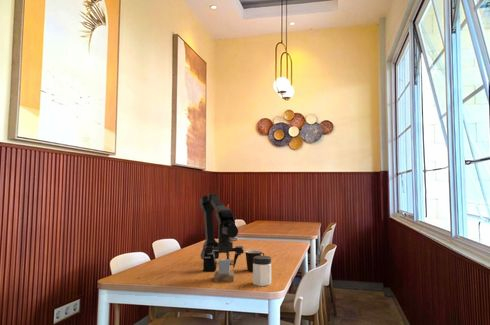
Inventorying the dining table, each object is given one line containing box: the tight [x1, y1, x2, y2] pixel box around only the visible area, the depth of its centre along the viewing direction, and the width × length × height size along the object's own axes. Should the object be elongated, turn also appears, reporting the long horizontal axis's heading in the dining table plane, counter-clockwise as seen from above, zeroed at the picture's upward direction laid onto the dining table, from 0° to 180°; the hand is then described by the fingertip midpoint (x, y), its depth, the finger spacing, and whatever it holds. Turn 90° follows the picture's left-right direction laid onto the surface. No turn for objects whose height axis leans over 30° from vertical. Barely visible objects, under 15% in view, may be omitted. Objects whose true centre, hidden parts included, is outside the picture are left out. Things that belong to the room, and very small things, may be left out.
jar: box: [252, 255, 272, 287], centre depth 164 cm, size 9×8×12 cm
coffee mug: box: [244, 249, 265, 273], centre depth 191 cm, size 12×9×10 cm
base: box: [213, 270, 235, 283], centre depth 172 cm, size 9×9×3 cm
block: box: [218, 258, 231, 274], centre depth 172 cm, size 5×5×6 cm
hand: (224, 267), depth 172 cm, fingers open, 9 cm apart
